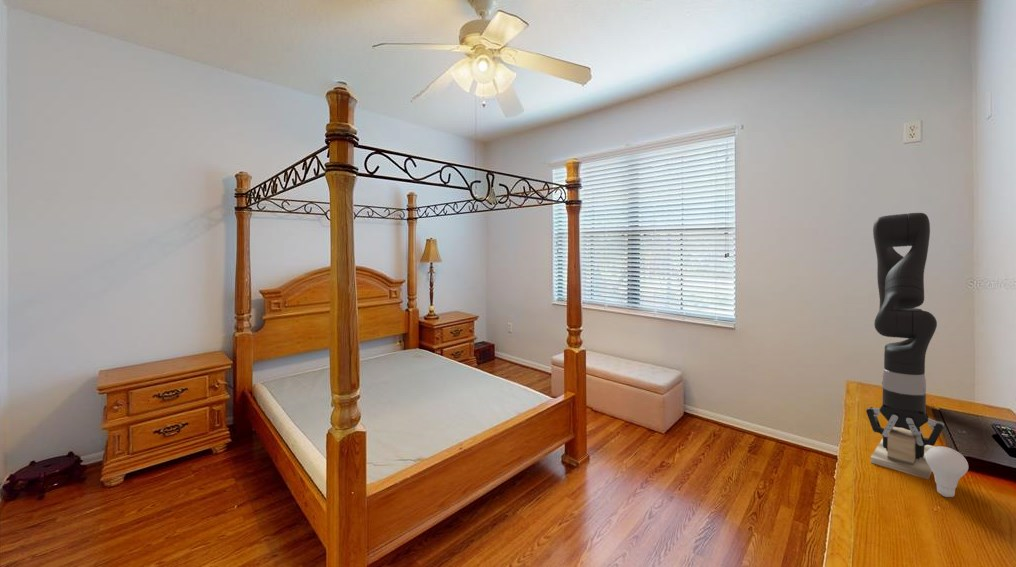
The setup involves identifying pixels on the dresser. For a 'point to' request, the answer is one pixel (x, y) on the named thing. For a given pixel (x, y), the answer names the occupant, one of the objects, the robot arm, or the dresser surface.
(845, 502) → the dresser surface
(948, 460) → the lightbulb
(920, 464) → the board
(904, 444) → the block
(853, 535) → the dresser surface
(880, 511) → the dresser surface
